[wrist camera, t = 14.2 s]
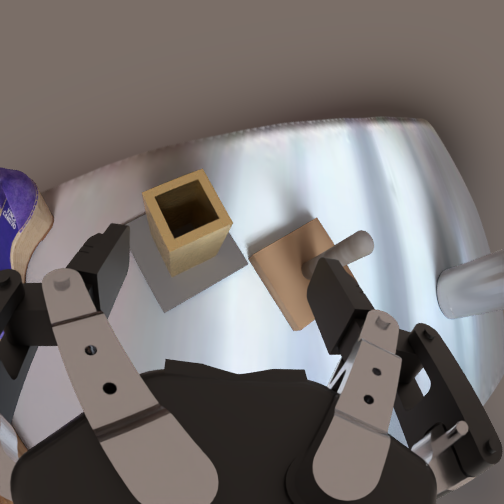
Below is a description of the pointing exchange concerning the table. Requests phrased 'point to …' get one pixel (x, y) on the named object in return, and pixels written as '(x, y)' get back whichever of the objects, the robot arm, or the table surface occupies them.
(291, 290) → the peg stand
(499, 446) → the robot arm
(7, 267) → the purple wedge sandal
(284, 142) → the table surface
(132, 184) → the table surface
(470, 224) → the table surface
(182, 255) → the sleeve
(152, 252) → the mat
